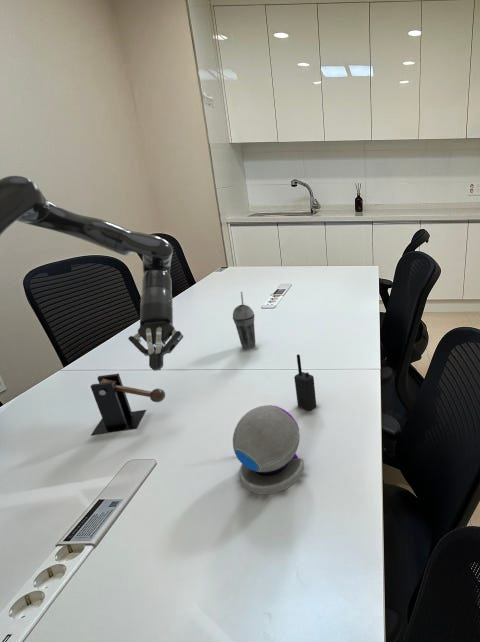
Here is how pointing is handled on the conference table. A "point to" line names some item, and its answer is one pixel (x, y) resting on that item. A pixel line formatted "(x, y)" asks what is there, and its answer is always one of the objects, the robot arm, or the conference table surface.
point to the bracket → (114, 407)
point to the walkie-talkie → (305, 389)
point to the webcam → (267, 449)
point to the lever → (139, 391)
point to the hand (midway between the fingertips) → (156, 369)
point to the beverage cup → (245, 325)
